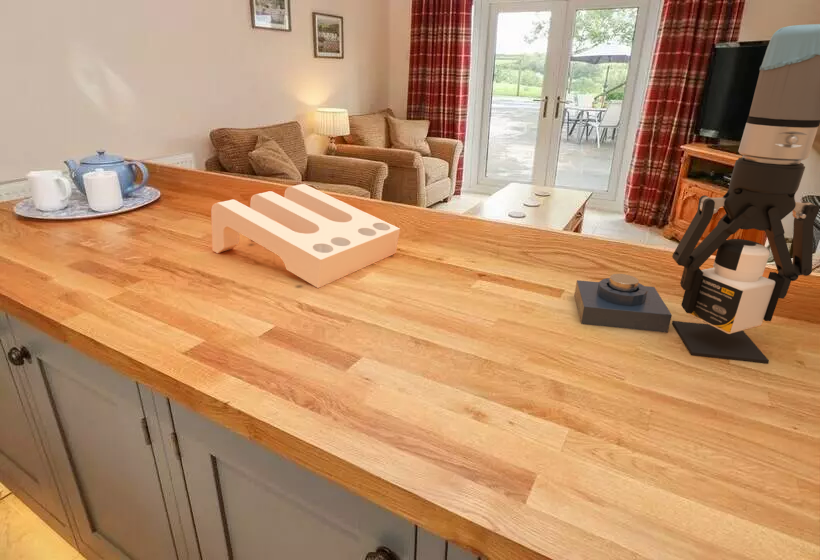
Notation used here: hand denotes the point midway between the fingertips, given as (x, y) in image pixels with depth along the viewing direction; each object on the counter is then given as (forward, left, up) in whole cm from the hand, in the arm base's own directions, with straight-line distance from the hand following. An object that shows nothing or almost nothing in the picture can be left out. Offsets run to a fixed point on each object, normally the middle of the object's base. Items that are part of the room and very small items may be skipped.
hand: (724, 313), depth 72 cm
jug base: (+13, -7, -5) cm, 16 cm away
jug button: (+13, -7, 0) cm, 15 cm away
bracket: (+75, -23, -5) cm, 79 cm away
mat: (0, 0, -5) cm, 5 cm away
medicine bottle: (0, 0, -1) cm, 1 cm away
